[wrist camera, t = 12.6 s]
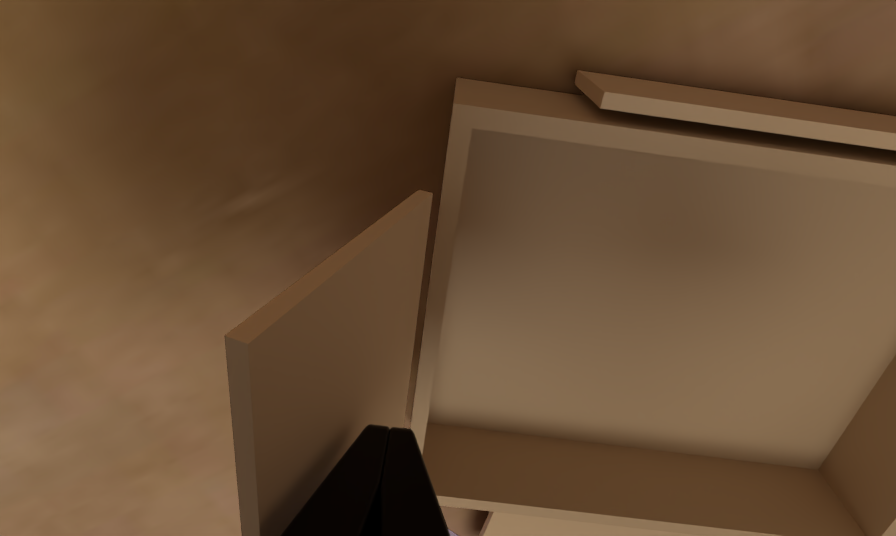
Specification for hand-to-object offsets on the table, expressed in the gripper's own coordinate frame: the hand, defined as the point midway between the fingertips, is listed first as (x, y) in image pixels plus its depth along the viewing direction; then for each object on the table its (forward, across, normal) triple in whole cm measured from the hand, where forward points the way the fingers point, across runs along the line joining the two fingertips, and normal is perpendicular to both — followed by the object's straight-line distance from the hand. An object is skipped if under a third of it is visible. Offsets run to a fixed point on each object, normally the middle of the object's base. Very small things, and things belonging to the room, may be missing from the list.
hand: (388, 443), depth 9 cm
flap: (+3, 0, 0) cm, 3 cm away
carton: (+6, -7, 0) cm, 10 cm away
